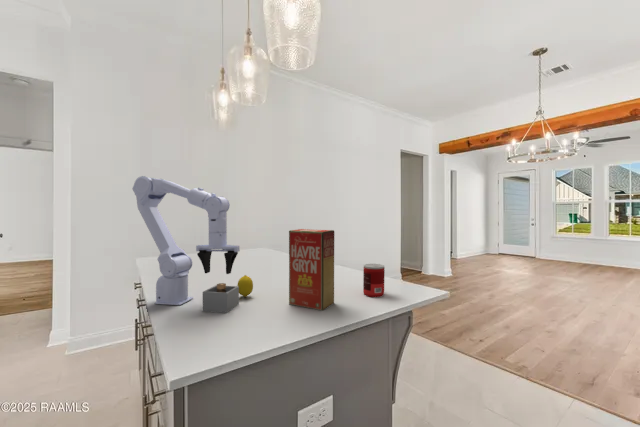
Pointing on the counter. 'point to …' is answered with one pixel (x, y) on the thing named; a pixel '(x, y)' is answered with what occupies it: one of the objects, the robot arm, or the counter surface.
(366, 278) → the canned food
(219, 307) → the open box
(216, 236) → the robot arm
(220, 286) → the plunger
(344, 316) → the counter surface
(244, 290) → the lemon
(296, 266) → the food packaging
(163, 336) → the counter surface
